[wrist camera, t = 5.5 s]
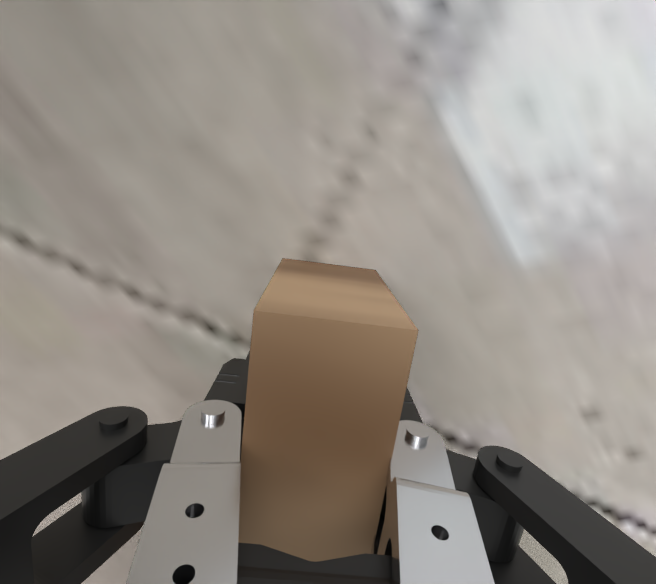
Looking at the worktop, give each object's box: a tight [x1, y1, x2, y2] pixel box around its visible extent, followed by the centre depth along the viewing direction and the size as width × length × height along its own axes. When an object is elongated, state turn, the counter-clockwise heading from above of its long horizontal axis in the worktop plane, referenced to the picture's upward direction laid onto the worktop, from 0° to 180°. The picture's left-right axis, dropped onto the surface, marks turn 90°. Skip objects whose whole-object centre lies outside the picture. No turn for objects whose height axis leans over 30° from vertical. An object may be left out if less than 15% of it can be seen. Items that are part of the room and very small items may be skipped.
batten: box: [238, 258, 418, 562], centre depth 12 cm, size 19×3×6 cm, turn 172°
